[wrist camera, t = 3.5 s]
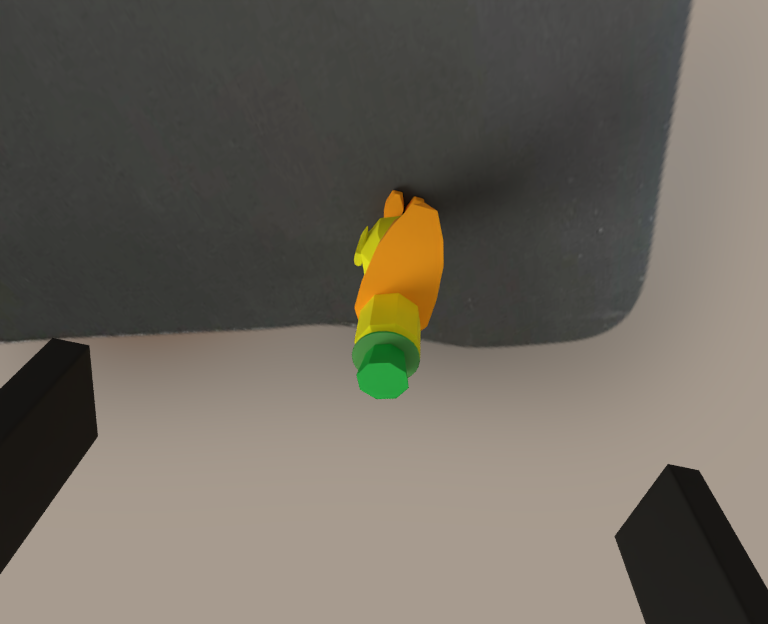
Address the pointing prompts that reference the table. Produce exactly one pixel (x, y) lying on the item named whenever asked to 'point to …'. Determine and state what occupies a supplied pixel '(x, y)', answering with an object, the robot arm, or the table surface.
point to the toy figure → (396, 294)
